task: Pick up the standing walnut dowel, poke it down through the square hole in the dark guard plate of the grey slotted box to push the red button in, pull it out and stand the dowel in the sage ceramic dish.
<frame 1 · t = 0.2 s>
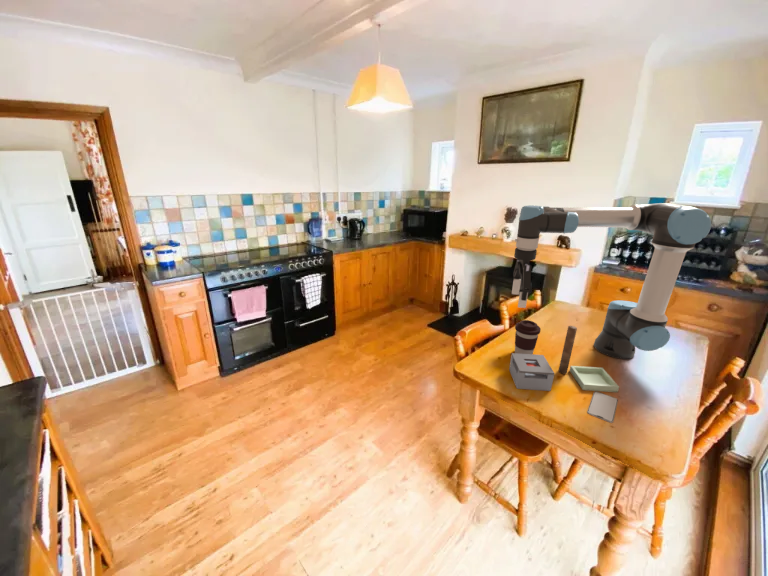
hand: (518, 300, 128), 28 cm above the table, fingers open, 13 cm apart
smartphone: (602, 407, 111), on the table
coffee cup: (523, 354, 142), on the table
tray: (592, 381, 124), on the table
breaker button: (530, 370, 124), point 4 cm above the table, slide at 0.0 cm
grey slotted box: (528, 379, 125), on the table
brown wooden bar: (562, 371, 130), on the table
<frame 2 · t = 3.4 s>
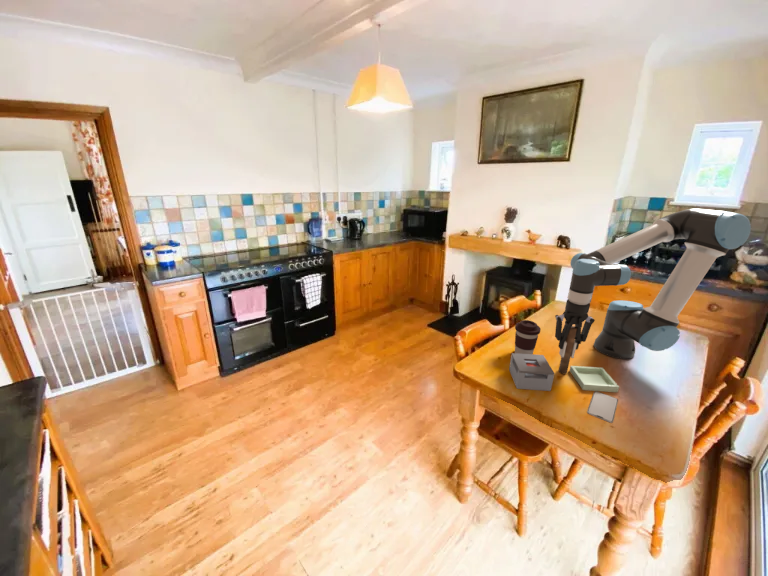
hand: (566, 355, 127), 8 cm above the table, fingers closed on brown wooden bar, 3 cm apart
brown wooden bar: (562, 371, 130), on the table, touching gripper
everything else where it was.
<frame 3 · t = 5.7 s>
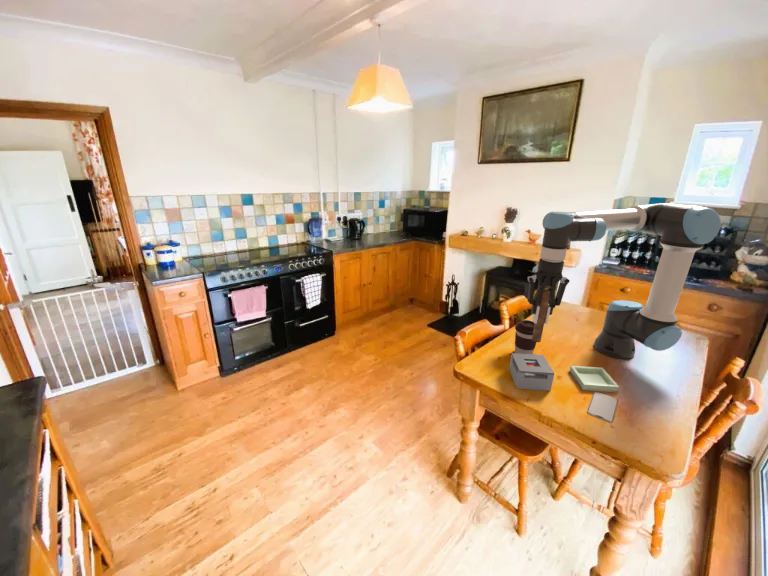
hand: (539, 321, 116), 25 cm above the table, fingers closed on brown wooden bar, 3 cm apart
brown wooden bar: (536, 340, 119), point 17 cm above the table, touching gripper
everything else where it was.
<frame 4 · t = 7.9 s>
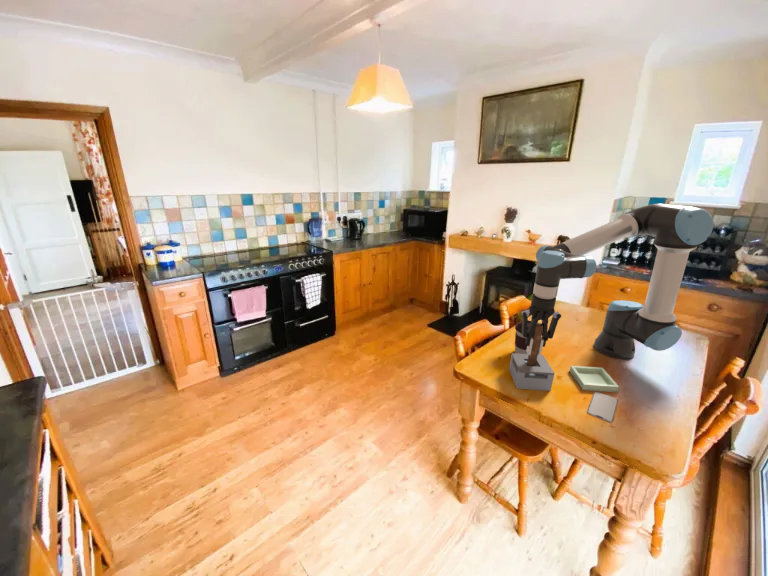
hand: (533, 353, 121), 12 cm above the table, fingers closed on brown wooden bar, 3 cm apart
breaker button: (529, 375, 124), point 2 cm above the table, slide at 2.1 cm, touching brown wooden bar
brown wooden bar: (530, 370, 124), point 4 cm above the table, touching breaker button, gripper
everything else where it was.
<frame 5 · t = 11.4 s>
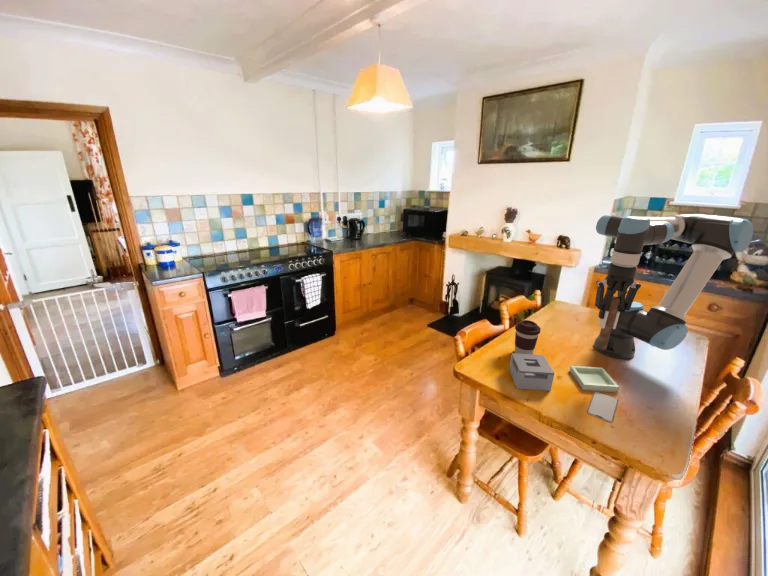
hand: (606, 326, 116), 23 cm above the table, fingers closed on brown wooden bar, 3 cm apart
breaker button: (529, 375, 124), point 2 cm above the table, slide at 2.0 cm
brown wooden bar: (601, 347, 119), point 15 cm above the table, touching gripper
everything else where it was.
when the fingers open (9 cm above the table, at t = 14.1 s): brown wooden bar stays where it is, resting on tray.
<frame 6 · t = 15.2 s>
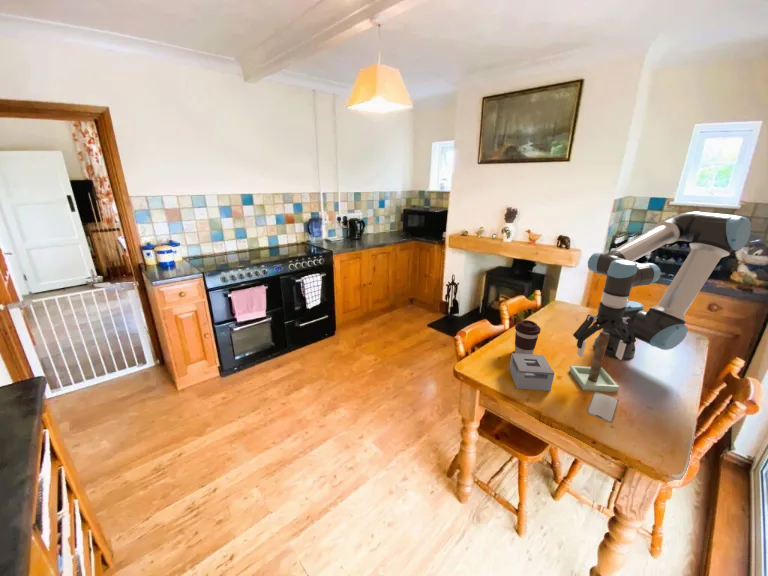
hand: (598, 356, 120), 11 cm above the table, fingers open, 13 cm apart
brown wooden bar: (592, 379, 124), point 1 cm above the table, touching tray
everything else where it was.
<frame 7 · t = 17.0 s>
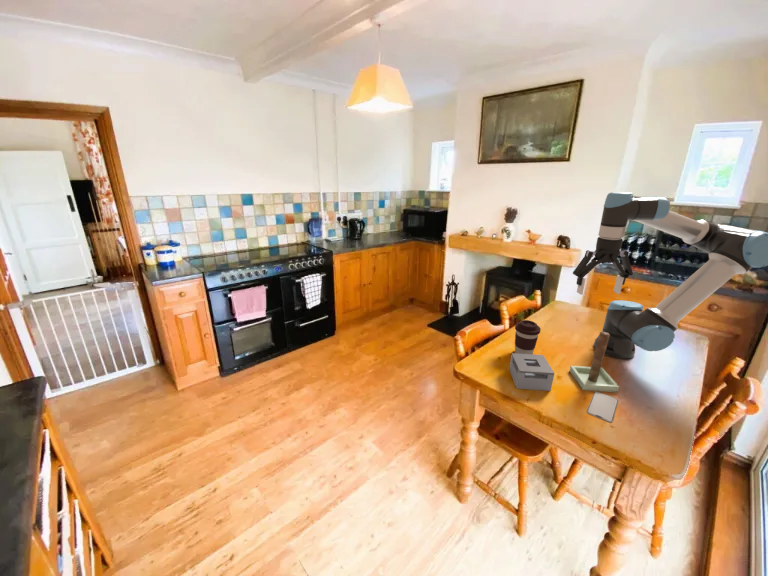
hand: (598, 293, 122), 33 cm above the table, fingers open, 13 cm apart
nothing on the table moved.
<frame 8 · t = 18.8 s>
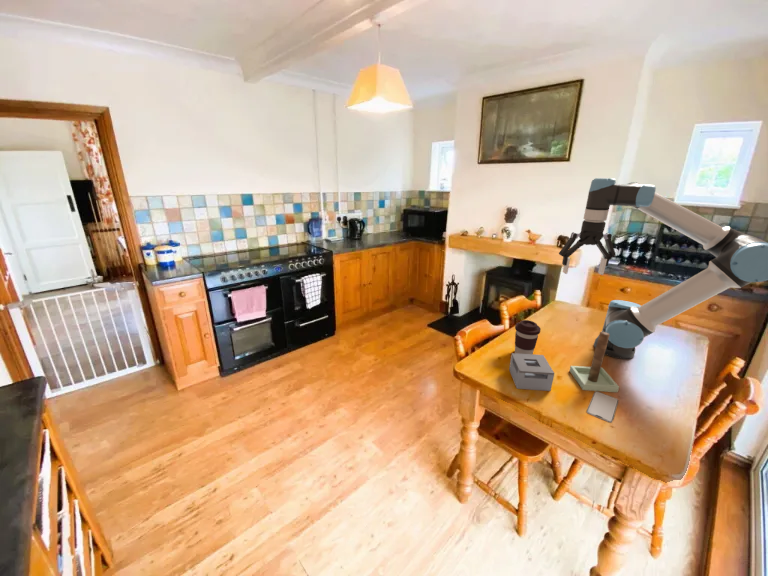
hand: (582, 273, 131), 37 cm above the table, fingers open, 13 cm apart
nothing on the table moved.
at the end: breaker button slide at 2.0 cm; brown wooden bar inside the target area on the tray (0.1 cm from its centre), point 0.6 cm above the tray's base; the gripper is holding nothing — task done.
